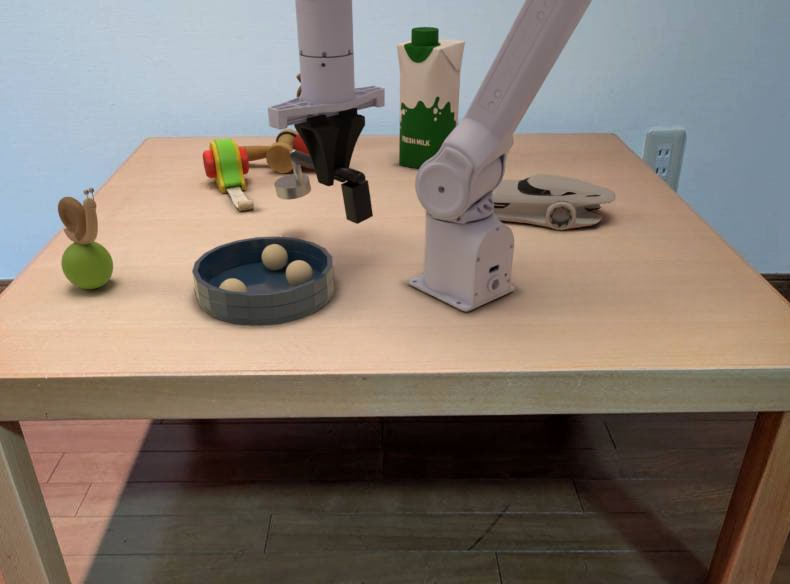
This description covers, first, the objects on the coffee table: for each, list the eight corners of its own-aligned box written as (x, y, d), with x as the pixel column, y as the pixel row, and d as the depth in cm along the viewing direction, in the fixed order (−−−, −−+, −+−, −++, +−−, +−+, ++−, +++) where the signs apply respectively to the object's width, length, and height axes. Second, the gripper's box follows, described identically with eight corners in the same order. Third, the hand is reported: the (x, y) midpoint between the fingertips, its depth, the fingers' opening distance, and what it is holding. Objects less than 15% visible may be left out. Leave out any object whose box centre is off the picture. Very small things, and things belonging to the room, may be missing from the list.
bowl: (361, 294, 81) (360, 265, 79) (244, 340, 74) (240, 309, 71) (284, 253, 91) (281, 226, 89) (173, 289, 83) (167, 261, 81)
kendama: (217, 182, 117) (326, 169, 114) (209, 140, 114) (320, 126, 111) (233, 175, 124) (336, 163, 121) (226, 136, 121) (331, 123, 118)
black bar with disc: (270, 194, 93) (259, 149, 89) (297, 182, 94) (288, 137, 91) (354, 229, 82) (346, 179, 78) (383, 214, 84) (377, 165, 80)
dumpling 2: (260, 274, 85) (270, 267, 87) (284, 272, 84) (293, 265, 86) (255, 248, 83) (265, 242, 86) (279, 246, 83) (289, 240, 85)
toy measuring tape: (241, 169, 118) (236, 127, 115) (268, 209, 103) (264, 162, 100) (201, 173, 117) (195, 131, 113) (224, 215, 102) (217, 168, 98)
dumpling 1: (256, 289, 77) (232, 272, 76) (240, 313, 77) (216, 296, 75) (247, 288, 80) (225, 272, 78) (233, 311, 79) (210, 296, 78)
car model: (439, 193, 108) (441, 159, 105) (609, 204, 104) (615, 168, 101) (428, 221, 99) (429, 185, 96) (613, 234, 95) (620, 196, 92)
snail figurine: (96, 303, 80) (68, 196, 73) (58, 290, 83) (27, 186, 76) (133, 285, 84) (110, 181, 77) (96, 272, 87) (70, 171, 80)
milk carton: (391, 165, 119) (391, 29, 107) (419, 151, 125) (421, 20, 113) (438, 174, 115) (443, 33, 103) (464, 159, 121) (472, 25, 110)
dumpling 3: (321, 276, 82) (311, 257, 80) (306, 296, 81) (295, 277, 79) (302, 270, 84) (292, 252, 81) (287, 289, 83) (276, 271, 80)
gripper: (355, 39, 83) (358, 160, 90) (246, 56, 75) (260, 187, 83) (397, 47, 78) (396, 174, 86) (286, 66, 71) (296, 203, 78)
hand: (332, 181), depth 84 cm, fingers closed on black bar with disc
